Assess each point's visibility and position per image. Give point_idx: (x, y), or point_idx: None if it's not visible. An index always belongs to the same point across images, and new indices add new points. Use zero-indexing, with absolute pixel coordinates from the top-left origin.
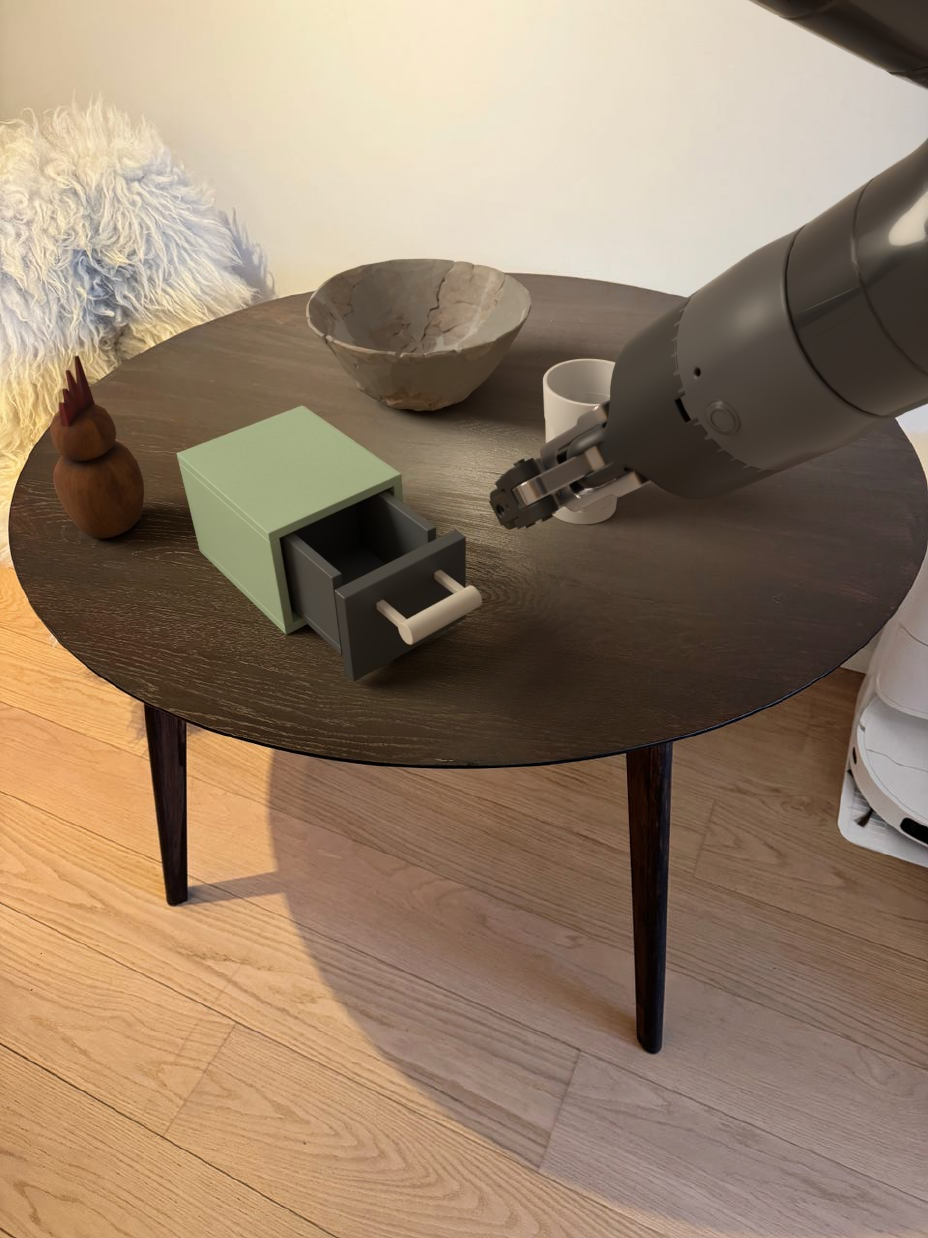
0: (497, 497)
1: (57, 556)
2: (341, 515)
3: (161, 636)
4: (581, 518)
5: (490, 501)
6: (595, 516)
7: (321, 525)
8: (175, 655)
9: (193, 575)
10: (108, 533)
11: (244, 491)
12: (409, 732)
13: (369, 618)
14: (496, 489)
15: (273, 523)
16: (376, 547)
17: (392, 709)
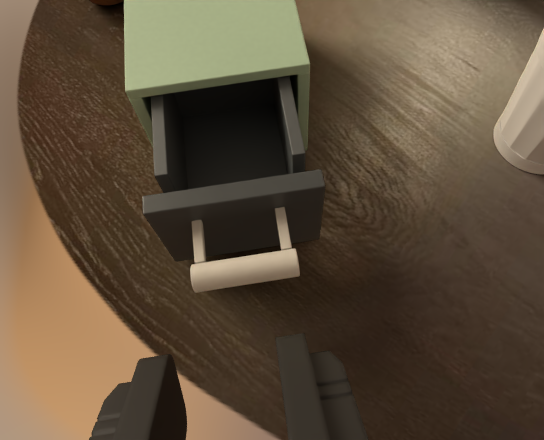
0: (94, 426)
1: (60, 8)
2: None
3: (77, 125)
4: (521, 163)
5: (110, 396)
6: (538, 168)
7: None
8: (74, 150)
9: None
10: (97, 2)
11: (144, 23)
12: (192, 341)
13: (184, 229)
14: (132, 378)
15: (139, 79)
16: (278, 120)
17: (195, 305)
